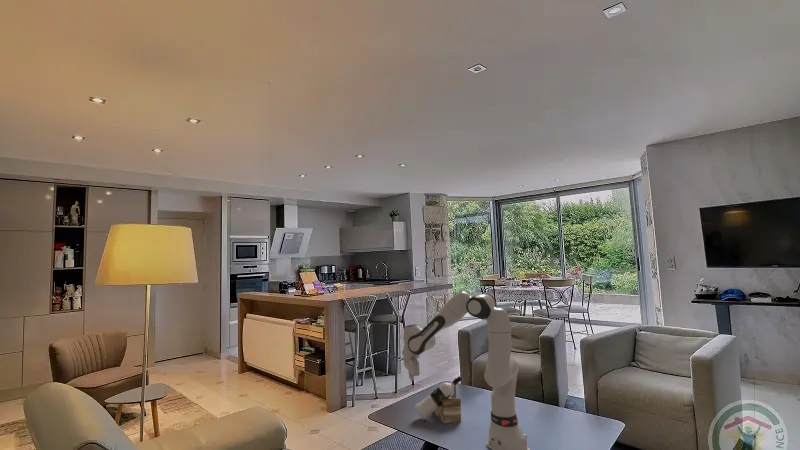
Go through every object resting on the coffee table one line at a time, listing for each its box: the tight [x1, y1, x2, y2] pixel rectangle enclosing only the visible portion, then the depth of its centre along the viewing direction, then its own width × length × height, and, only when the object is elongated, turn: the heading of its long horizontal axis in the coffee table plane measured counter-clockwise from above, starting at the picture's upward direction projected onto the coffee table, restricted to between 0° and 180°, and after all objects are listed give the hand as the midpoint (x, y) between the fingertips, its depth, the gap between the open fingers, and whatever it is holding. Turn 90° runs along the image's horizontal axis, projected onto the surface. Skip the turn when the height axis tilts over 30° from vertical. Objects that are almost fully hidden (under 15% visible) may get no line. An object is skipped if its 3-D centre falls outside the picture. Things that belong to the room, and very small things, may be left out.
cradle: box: [432, 389, 462, 424], centre depth 215 cm, size 17×10×12 cm, turn 14°
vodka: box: [414, 375, 463, 421], centre depth 212 cm, size 9×9×30 cm
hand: (411, 379), depth 212 cm, fingers closed
